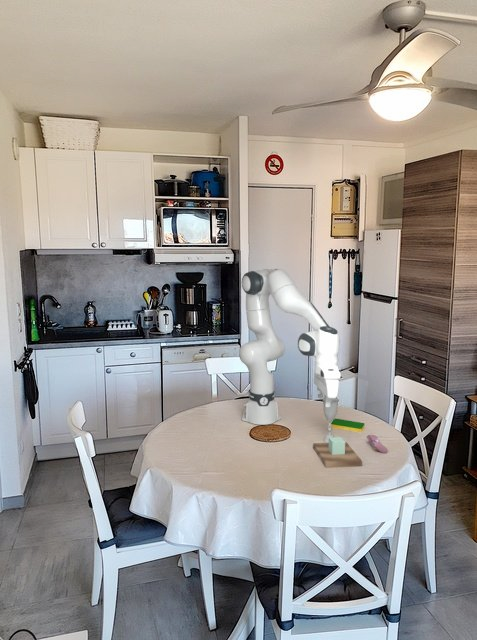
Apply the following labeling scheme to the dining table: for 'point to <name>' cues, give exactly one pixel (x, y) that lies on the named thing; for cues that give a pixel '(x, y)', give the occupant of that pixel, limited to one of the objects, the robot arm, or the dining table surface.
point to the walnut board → (337, 456)
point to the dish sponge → (347, 425)
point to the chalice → (330, 415)
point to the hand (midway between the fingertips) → (323, 402)
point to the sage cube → (336, 445)
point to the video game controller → (376, 443)
